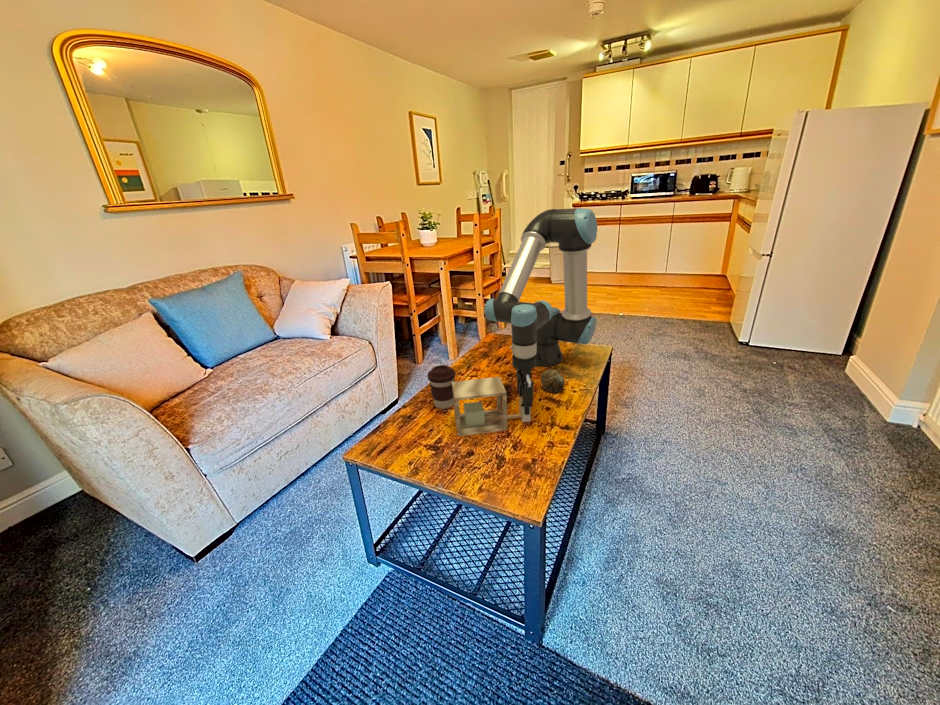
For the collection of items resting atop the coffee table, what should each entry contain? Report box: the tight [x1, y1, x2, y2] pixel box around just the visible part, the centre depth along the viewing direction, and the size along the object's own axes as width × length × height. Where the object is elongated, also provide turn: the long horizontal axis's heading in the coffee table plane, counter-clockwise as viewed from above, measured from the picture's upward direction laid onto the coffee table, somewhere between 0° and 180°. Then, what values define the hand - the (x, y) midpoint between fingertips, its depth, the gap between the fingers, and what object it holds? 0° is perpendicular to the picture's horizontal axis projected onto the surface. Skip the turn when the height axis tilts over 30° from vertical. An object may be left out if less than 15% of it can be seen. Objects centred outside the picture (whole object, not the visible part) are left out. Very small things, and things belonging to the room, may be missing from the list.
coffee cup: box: [427, 364, 456, 410], centre depth 142 cm, size 10×10×15 cm
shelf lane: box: [452, 376, 508, 437], centre depth 128 cm, size 16×11×15 cm
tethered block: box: [463, 396, 523, 428], centre depth 130 cm, size 22×6×8 cm, turn 97°
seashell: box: [540, 368, 565, 394], centre depth 150 cm, size 11×9×8 cm
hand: (524, 418), depth 132 cm, fingers closed on tethered block, 3 cm apart
